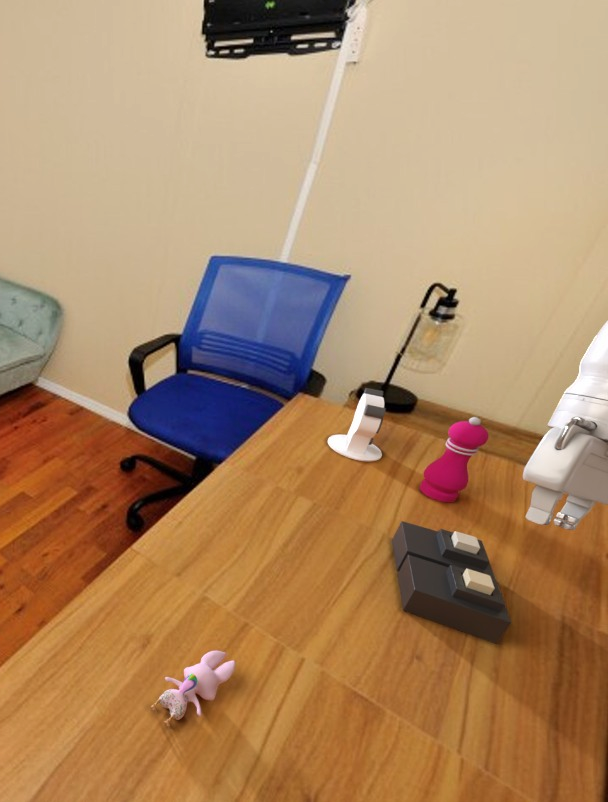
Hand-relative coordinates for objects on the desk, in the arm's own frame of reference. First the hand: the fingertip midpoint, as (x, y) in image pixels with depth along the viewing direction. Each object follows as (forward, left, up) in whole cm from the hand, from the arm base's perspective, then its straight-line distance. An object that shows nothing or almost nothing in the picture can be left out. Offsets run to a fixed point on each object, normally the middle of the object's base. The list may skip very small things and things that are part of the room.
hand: (549, 525), depth 66 cm
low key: (-2, -21, -22) cm, 30 cm away
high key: (-2, -11, -22) cm, 25 cm away
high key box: (0, -11, -28) cm, 30 cm away
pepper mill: (-4, -48, -28) cm, 56 cm away
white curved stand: (+11, -59, -28) cm, 67 cm away
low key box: (0, -21, -28) cm, 35 cm away
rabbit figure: (+34, +27, -28) cm, 52 cm away
